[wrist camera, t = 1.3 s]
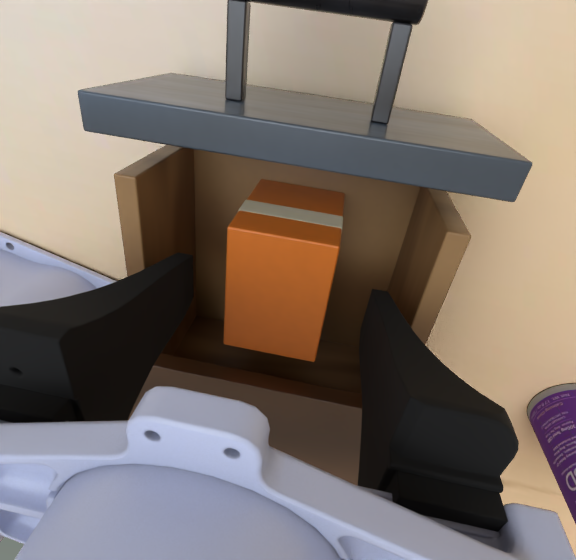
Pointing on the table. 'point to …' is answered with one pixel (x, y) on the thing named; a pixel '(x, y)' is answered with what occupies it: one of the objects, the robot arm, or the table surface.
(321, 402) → the cabinet
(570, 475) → the container
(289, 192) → the snack box
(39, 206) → the table surface
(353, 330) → the drawer
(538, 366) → the table surface
